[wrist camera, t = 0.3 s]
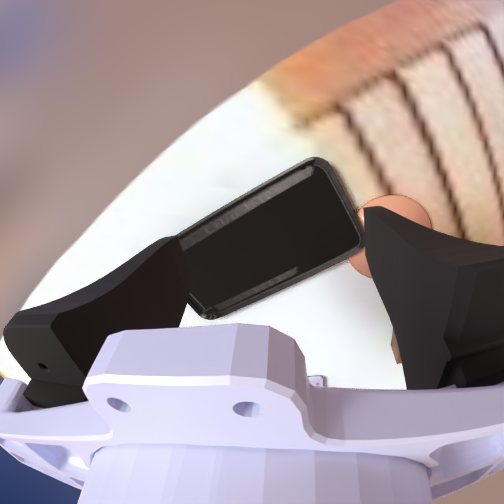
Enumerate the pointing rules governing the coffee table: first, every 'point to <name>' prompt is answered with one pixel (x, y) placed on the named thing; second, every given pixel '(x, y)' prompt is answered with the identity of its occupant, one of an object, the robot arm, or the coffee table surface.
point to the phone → (270, 239)
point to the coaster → (397, 205)
